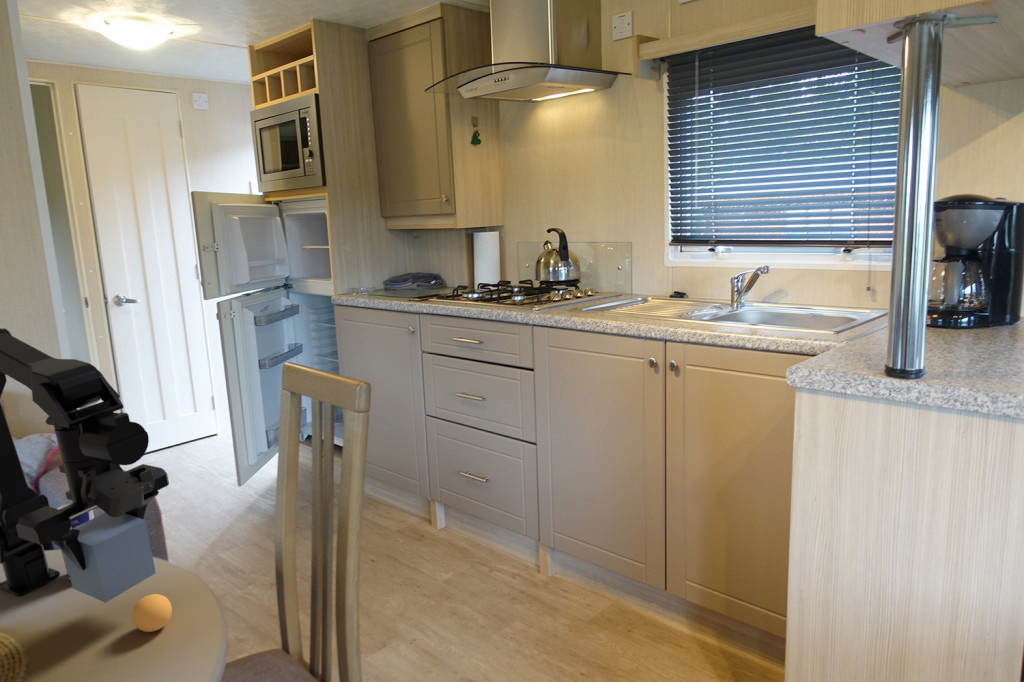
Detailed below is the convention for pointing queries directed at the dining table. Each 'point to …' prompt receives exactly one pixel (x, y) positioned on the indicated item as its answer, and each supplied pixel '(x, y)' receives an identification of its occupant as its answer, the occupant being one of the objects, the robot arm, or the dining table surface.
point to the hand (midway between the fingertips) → (110, 554)
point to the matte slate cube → (112, 556)
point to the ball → (152, 613)
